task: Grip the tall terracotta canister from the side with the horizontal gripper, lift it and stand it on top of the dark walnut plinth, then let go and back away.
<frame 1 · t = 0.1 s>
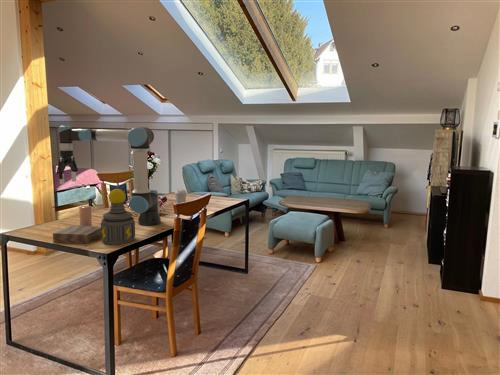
hand: (68, 182, 246), 28 cm above the table, tool pointing down, fingers open, 13 cm apart
walnut plinth: (78, 238, 220), on the table
terracotta canister: (86, 228, 241), on the table
decorative lamp: (118, 240, 218), on the table
teacup with lid: (152, 213, 287), on the table
coffee cup: (180, 208, 307), on the table
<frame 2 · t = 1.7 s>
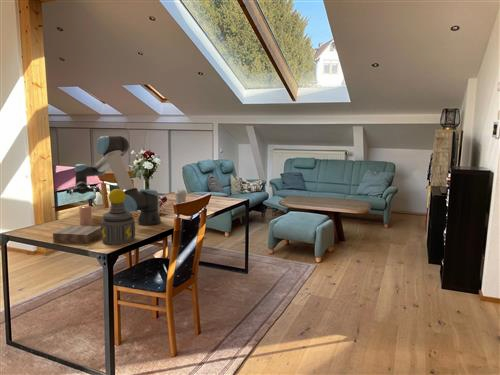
hand: (83, 192, 246), 22 cm above the table, tool horizontal, fingers open, 13 cm apart
nothing on the table moved.
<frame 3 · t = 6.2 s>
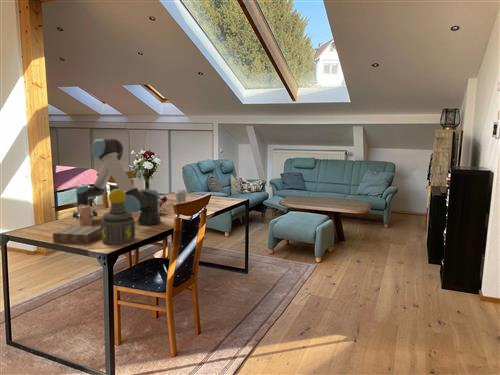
hand: (86, 217, 236), 8 cm above the table, tool horizontal, fingers closed on terracotta canister, 7 cm apart
terracotta canister: (86, 228, 241), on the table, touching gripper
everything else where it was.
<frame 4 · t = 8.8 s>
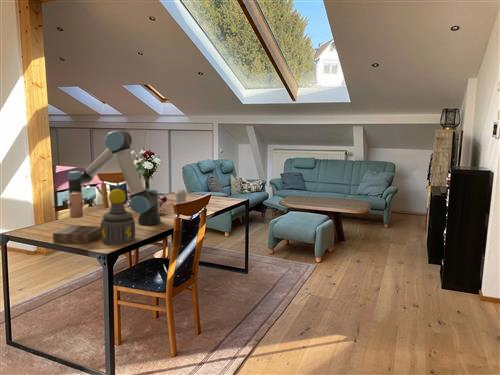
hand: (76, 204, 216), 20 cm above the table, tool horizontal, fingers closed on terracotta canister, 7 cm apart
terracotta canister: (76, 216, 221), point 12 cm above the table, touching gripper
everything else where it was.
when the fingers open (13 cm above the table, at t = 11.6 s): terracotta canister stays where it is, resting on walnut plinth.
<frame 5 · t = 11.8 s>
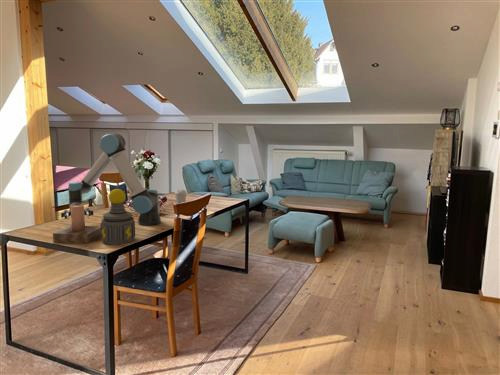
hand: (78, 216, 214), 13 cm above the table, tool horizontal, fingers open, 10 cm apart
terracotta canister: (78, 229, 219), point 5 cm above the table, touching walnut plinth
everything else where it was.
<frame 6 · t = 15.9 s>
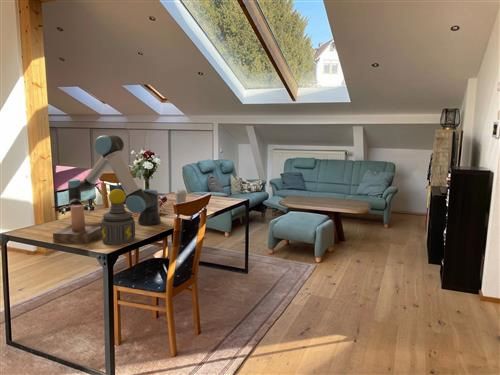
hand: (77, 212, 226), 14 cm above the table, tool horizontal, fingers open, 13 cm apart
nothing on the table moved.
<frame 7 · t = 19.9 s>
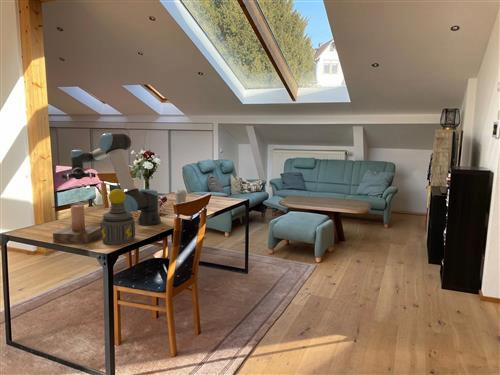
hand: (79, 177, 243), 32 cm above the table, tool horizontal, fingers open, 13 cm apart
nothing on the table moved.
at the end: terracotta canister inside the target area on the walnut plinth (0.1 cm from its centre), point 5.0 cm above the walnut plinth's base; terracotta canister tilted 0°; the gripper is holding nothing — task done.
